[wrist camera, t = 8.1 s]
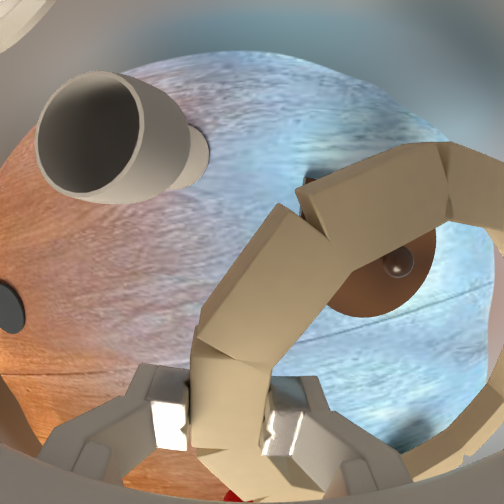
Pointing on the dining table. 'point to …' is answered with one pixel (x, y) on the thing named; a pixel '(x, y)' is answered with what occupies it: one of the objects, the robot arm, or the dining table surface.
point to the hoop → (319, 294)
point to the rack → (384, 278)
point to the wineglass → (116, 140)
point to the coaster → (11, 310)
